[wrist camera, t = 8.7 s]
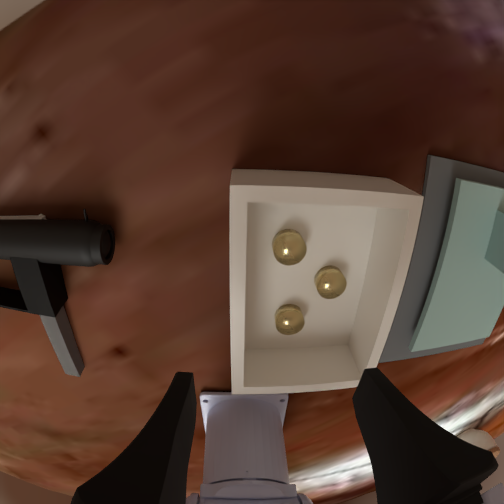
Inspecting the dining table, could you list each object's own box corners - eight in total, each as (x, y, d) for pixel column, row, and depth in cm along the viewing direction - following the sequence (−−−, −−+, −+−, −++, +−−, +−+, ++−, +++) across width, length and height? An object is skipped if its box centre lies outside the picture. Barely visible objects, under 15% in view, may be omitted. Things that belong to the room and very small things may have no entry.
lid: (481, 327, 24) (509, 361, 19) (403, 340, 24) (430, 385, 19) (525, 191, 18) (568, 213, 13) (447, 174, 18) (500, 197, 13)
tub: (352, 346, 24) (368, 385, 20) (232, 351, 24) (231, 394, 19) (387, 178, 18) (423, 196, 14) (232, 169, 18) (229, 185, 14)
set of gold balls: (332, 324, 22) (336, 333, 21) (266, 326, 22) (267, 335, 21) (350, 230, 19) (355, 236, 18) (272, 228, 19) (274, 234, 18)
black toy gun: (136, 393, 23) (94, 214, 15) (-21, 353, 22) (-76, 217, 14) (143, 366, 26) (114, 195, 18) (-8, 334, 24) (-54, 203, 17)
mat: (480, 341, 26) (482, 343, 25) (377, 359, 25) (379, 362, 25) (533, 181, 18) (536, 182, 18) (427, 154, 17) (430, 155, 17)
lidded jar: (442, 437, 35) (461, 480, 27) (491, 411, 35) (512, 448, 26) (430, 461, 40) (445, 498, 31) (475, 438, 39) (491, 471, 30)
